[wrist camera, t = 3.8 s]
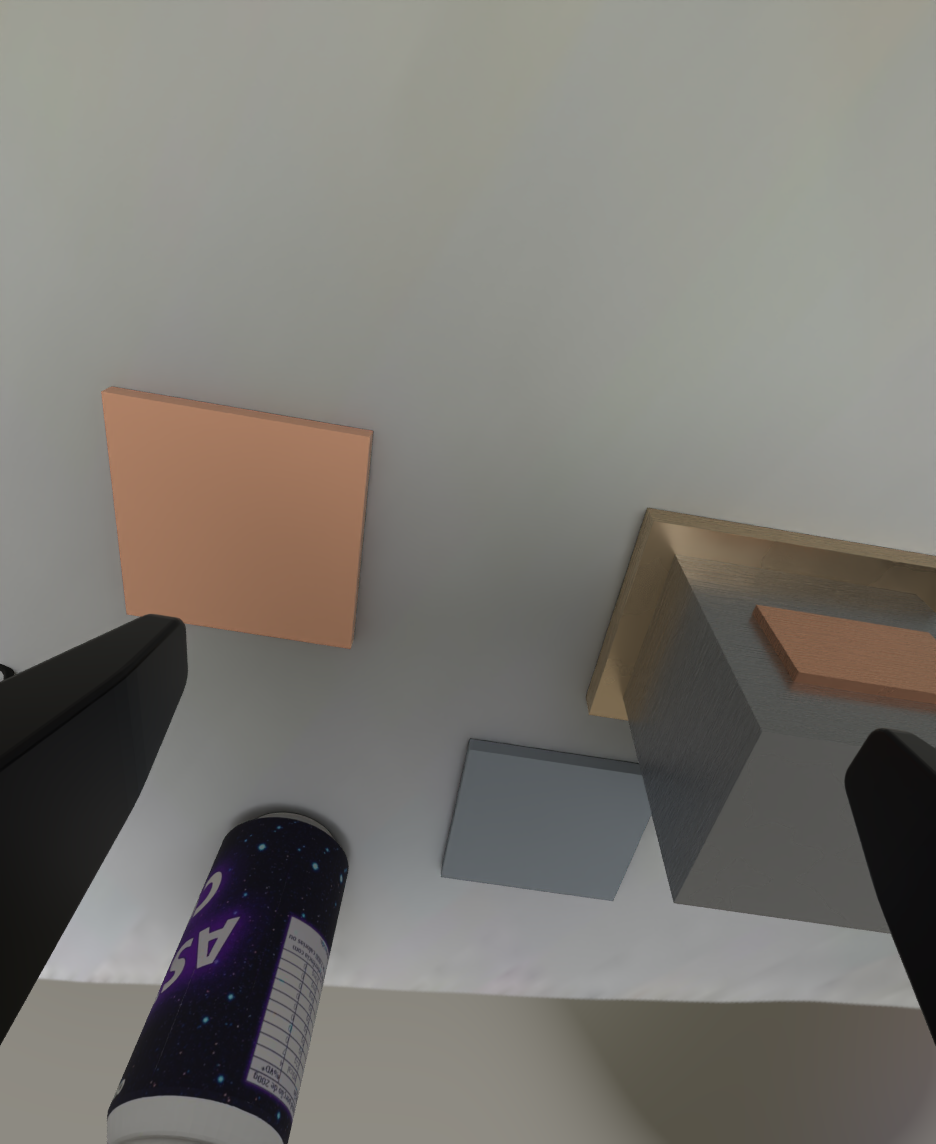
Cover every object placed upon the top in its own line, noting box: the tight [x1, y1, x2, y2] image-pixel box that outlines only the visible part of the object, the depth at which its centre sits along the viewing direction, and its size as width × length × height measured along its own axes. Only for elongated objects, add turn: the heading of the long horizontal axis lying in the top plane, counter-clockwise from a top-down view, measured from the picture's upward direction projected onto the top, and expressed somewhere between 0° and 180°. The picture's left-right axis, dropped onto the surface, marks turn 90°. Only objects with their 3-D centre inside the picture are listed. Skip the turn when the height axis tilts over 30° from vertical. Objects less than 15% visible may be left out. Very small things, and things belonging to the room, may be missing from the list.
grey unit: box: [586, 508, 936, 934], centre depth 20 cm, size 10×8×9 cm
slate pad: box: [441, 739, 652, 901], centre depth 28 cm, size 8×8×1 cm
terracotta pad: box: [101, 387, 373, 649], centre depth 22 cm, size 8×8×1 cm
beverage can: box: [107, 812, 348, 1144], centre depth 25 cm, size 6×6×12 cm
